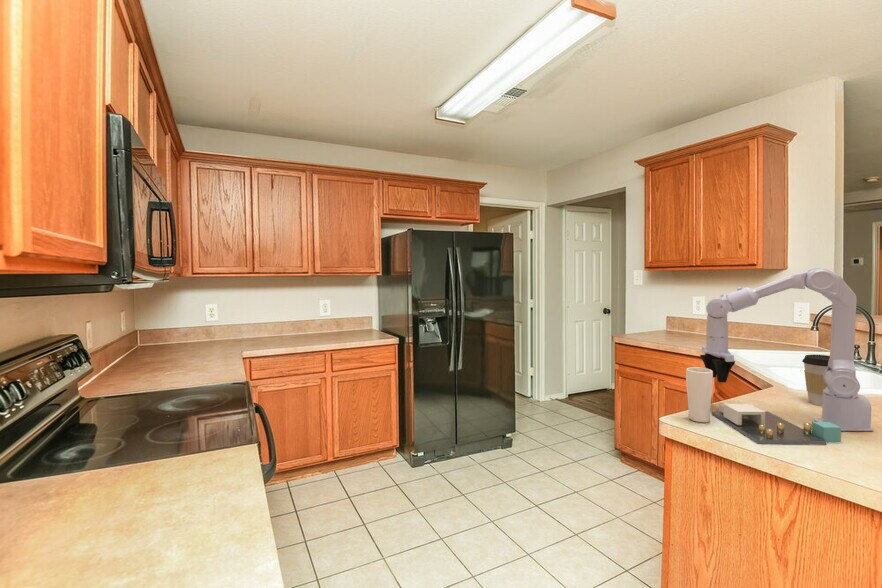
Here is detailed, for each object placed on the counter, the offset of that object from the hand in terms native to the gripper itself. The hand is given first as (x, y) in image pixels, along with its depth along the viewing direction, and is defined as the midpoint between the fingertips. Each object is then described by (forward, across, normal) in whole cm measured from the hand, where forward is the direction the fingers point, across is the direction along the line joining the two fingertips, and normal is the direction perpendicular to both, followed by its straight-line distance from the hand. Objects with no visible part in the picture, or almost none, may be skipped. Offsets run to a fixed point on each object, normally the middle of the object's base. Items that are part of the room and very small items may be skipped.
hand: (716, 379), depth 134 cm
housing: (+8, +12, 0) cm, 14 cm away
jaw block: (+10, +24, +14) cm, 29 cm away
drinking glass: (+10, +10, -10) cm, 17 cm away
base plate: (+9, +16, +4) cm, 19 cm away
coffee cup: (+10, -6, +35) cm, 37 cm away
